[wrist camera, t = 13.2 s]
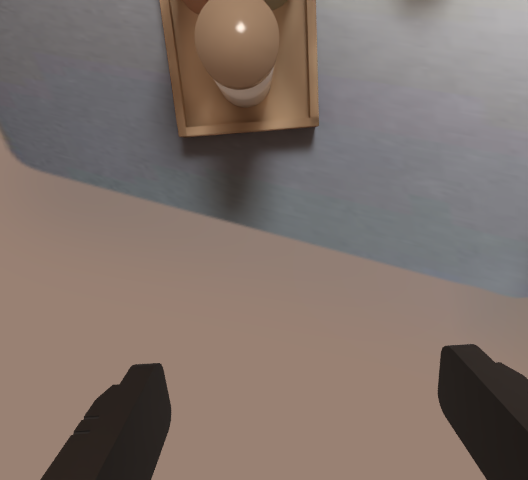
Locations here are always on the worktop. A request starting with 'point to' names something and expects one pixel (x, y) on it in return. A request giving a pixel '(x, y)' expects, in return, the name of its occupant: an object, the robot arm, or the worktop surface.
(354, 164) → the worktop surface
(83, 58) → the worktop surface
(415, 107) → the worktop surface
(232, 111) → the tray
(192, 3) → the terracotta jar
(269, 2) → the sage jar
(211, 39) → the white jar
